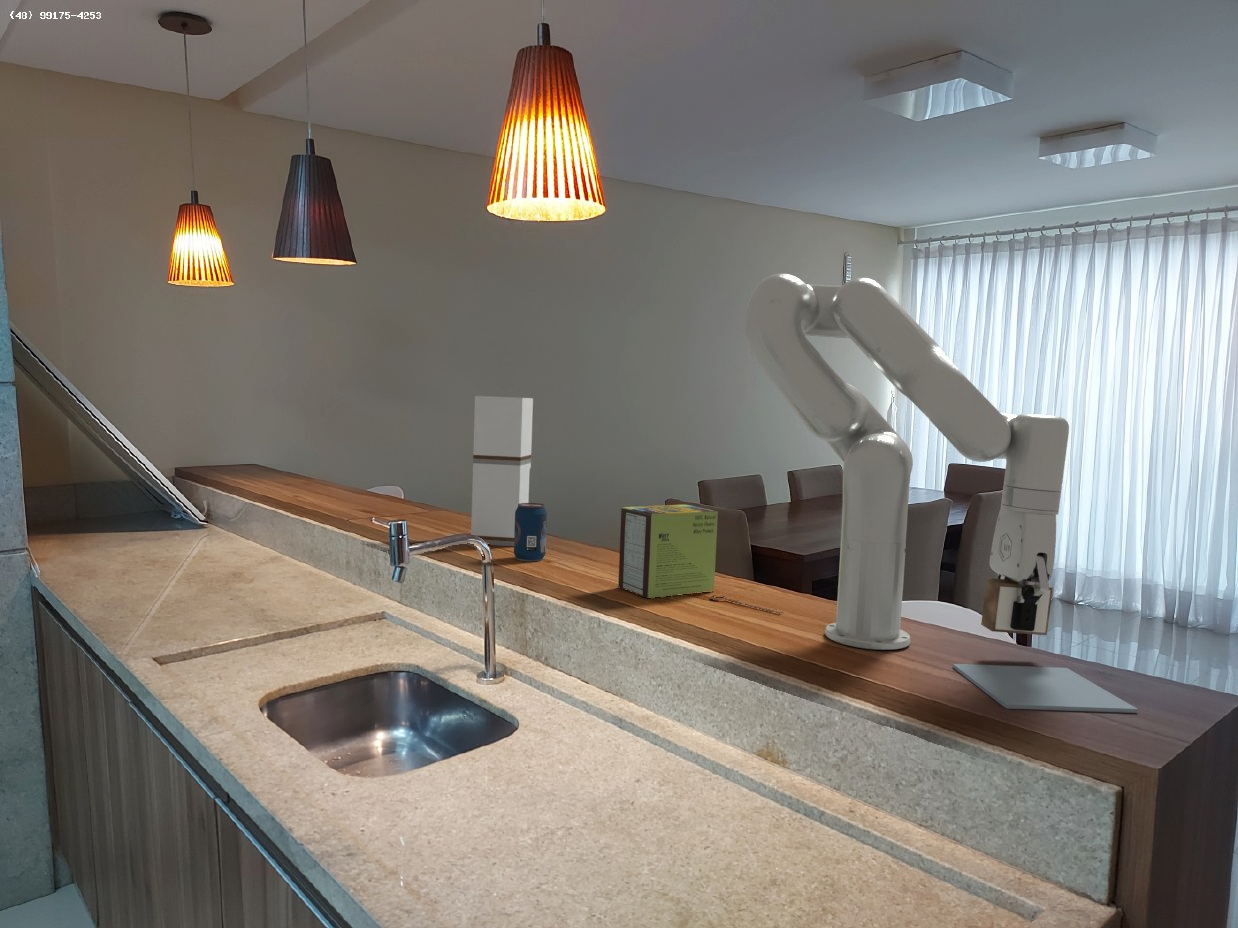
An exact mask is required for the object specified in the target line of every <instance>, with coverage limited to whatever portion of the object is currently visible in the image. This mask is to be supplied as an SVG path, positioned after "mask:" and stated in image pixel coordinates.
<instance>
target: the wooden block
mask: <svg viewBox="0 0 1238 928" xmlns="http://www.w3.org/2000/svg"><path fill="white" fill-rule="evenodd" d="M985 581H986V582H985V589H984V596H983V606H982V614H981V624H980V625H981V626H982V627H984V628H985V629H988V630H989V631H990V632H995V633H1009V634H1010V633H1011V634H1024V635H1025V634H1026V635H1038V636H1047V635H1048V629H1049V621H1050V613H1051V606H1052V596H1053V586H1051V585H1049V590H1048V591H1047V592H1046V593H1044V594H1042V596H1041V597H1040V603H1039V604H1038V605H1037V613H1036V620H1035V628H1034V630H1033V631H1022V630H1014V629H1012V628H1011V619H1012V611H1013V603H1014V601H1016V602H1017V584H1018V582H1017V581H1013V580H1007V579H998V578H991V577H986V579H985ZM1028 587H1032V586H1029V585H1025V591H1026V590H1027V588H1028Z"/></svg>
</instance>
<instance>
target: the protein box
mask: <svg viewBox="0 0 1238 928" xmlns="http://www.w3.org/2000/svg"><path fill="white" fill-rule="evenodd" d="M718 515H719V511H718V510H715V509H709V508H703V507H701V506H700V507H698V506H694V505H690V504H667V505H665V504H664V505H661V504H660V505H645V506H644V505H642V506H641V505H640V506H624V507H621V510H620V533H619V535H620V537H619V564H618V585H617V586H618V587H617V588H619V587H620V588H619V589H621V588H623V589H627V590H629V591H632V592H634V593H637V594H638V595H637V594H636V595H637V596H639V595H640V597H643V598H644V597H646V598H645V599H647V598H651V599H656V598H655V597H661V598H667V597H666V596H671V595H678V594H687V593H693V592H694V593H695V592H696V593H697V592H703V591H711V590H714V591H715V578H716V577H715V575H716V555H717V552H716V551H717V537H718V535H717V534H718ZM623 589H622V590H623ZM629 591H628V592H629ZM634 593H633V594H634ZM671 597H672V596H671Z"/></svg>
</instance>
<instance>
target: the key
mask: <svg viewBox="0 0 1238 928" xmlns="http://www.w3.org/2000/svg"><path fill="white" fill-rule="evenodd" d="M714 596H715V595H711V596H709V599H710V600H711V599H714V600H724V599H725V600H728V601H731V602H735V603H739V604H745V605H748V606H750V607H754V608H759V609H762V610H766V611H769V612H776V613H779V614H780V613H782V612H778V611H774V610H770V609H767V608H768V607H763V606H758V605H754V604H750V603H746V602H743V601H739V600H735V599H731V598H728V597H727V598H728V599H727V598H714ZM722 596H723V595H722ZM723 597H725V596H723ZM769 612H768V613H769ZM782 614H783V613H782Z"/></svg>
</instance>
